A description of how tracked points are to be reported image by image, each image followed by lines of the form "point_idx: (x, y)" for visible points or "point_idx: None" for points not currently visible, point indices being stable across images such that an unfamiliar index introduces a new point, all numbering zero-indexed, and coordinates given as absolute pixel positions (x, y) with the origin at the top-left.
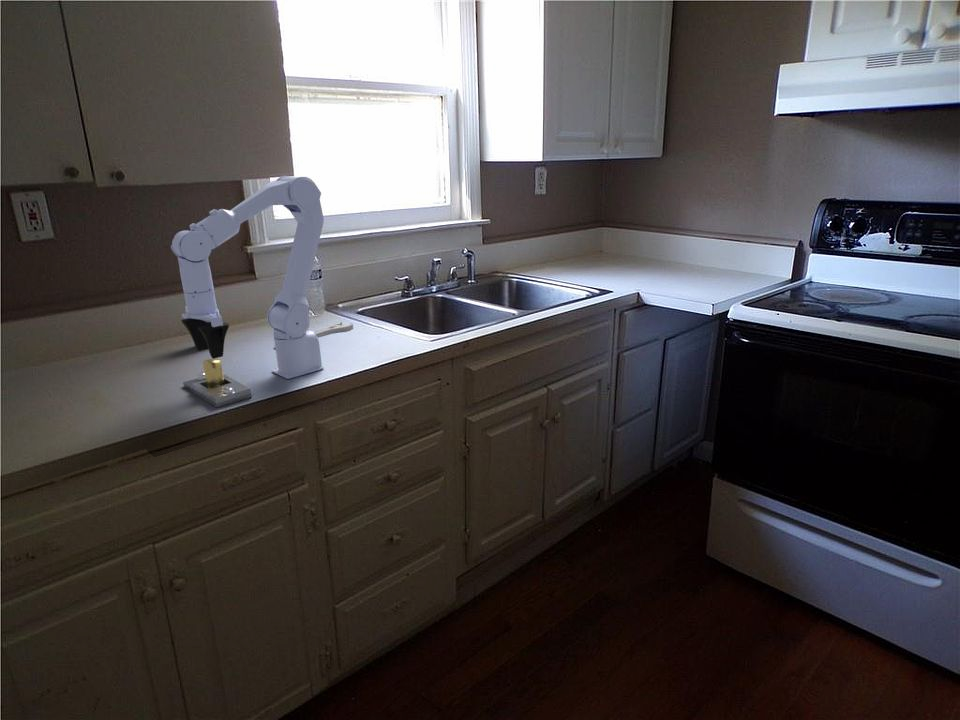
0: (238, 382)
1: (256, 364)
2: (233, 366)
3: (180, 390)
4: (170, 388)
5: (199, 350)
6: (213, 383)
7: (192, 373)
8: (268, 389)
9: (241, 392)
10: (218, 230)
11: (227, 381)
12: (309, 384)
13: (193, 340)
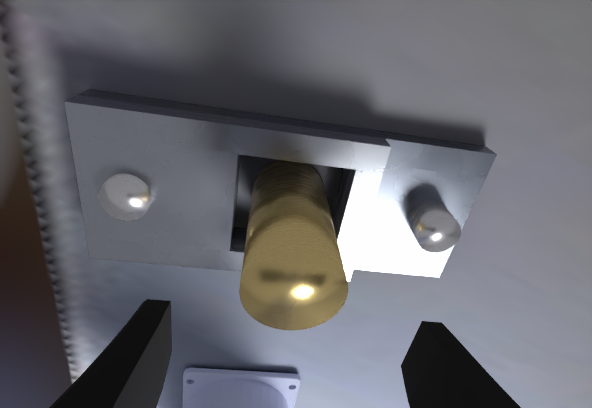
0: (209, 267)
1: None
2: (469, 340)
3: (459, 110)
4: (530, 96)
5: (421, 327)
6: (257, 197)
7: (572, 240)
8: None
9: (85, 220)
10: None
11: None
12: None
13: (495, 390)
